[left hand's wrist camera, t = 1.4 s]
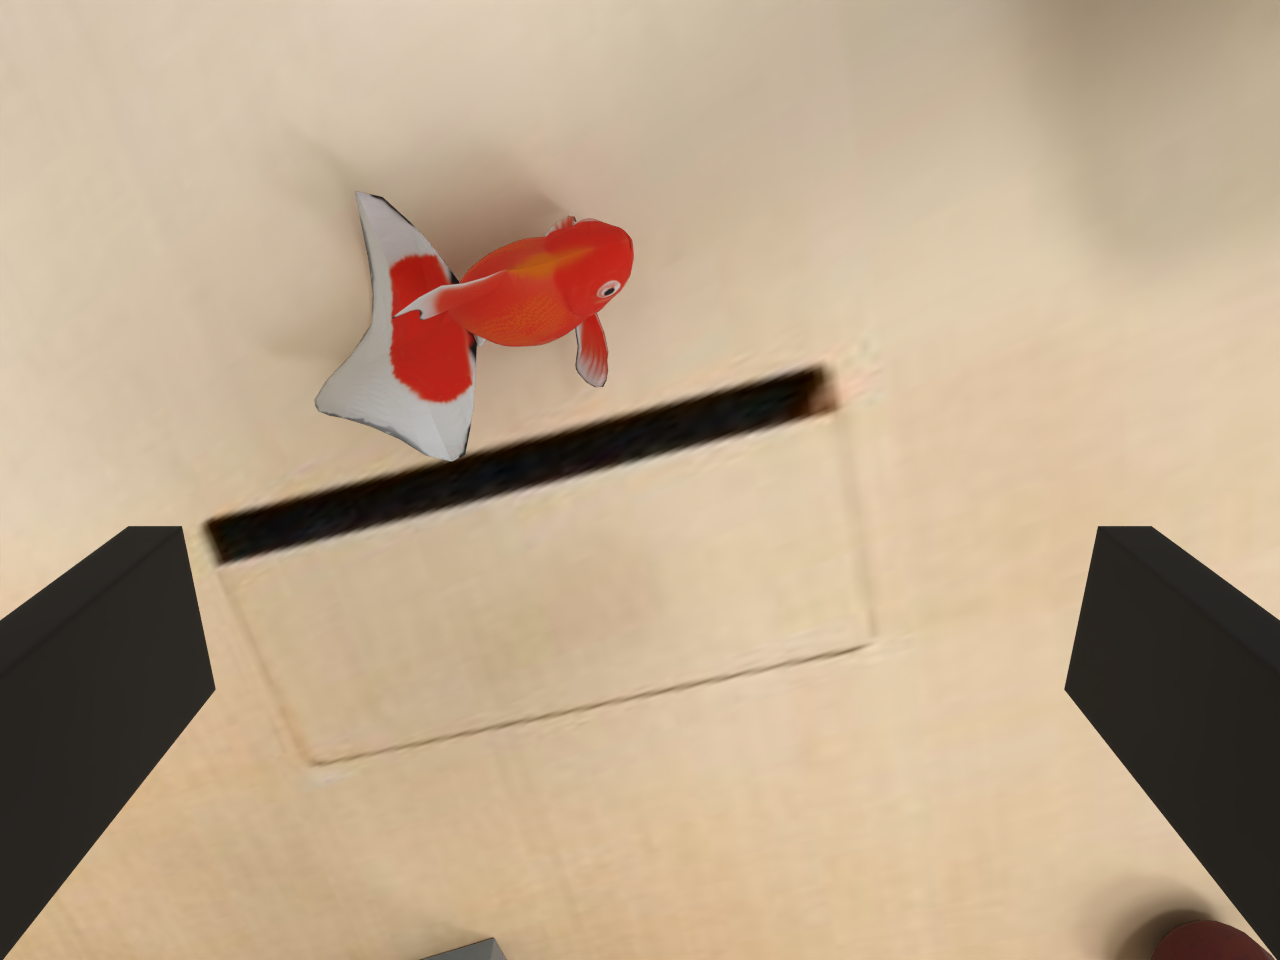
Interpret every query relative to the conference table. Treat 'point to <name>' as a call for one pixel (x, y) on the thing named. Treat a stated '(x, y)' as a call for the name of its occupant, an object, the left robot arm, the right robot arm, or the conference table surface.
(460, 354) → the fish
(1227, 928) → the potato
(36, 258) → the conference table surface
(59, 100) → the conference table surface
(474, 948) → the brick
